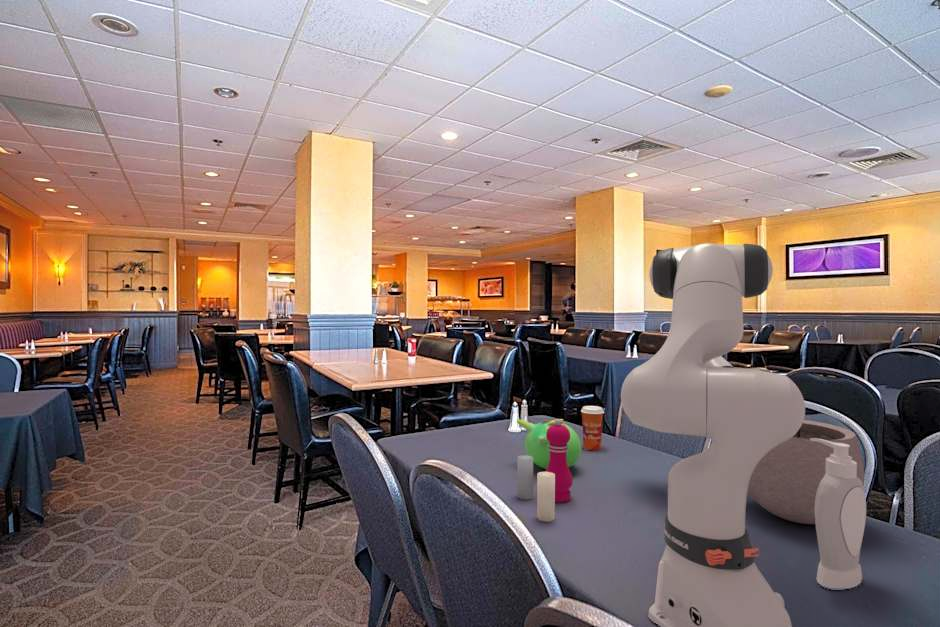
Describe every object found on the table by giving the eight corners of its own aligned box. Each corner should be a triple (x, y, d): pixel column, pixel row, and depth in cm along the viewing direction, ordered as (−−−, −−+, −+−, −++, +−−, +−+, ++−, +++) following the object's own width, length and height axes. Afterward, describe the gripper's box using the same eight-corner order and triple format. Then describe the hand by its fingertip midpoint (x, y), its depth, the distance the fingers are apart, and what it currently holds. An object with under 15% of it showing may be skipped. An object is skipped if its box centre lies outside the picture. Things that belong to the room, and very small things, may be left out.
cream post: (557, 521, 111) (557, 476, 111) (540, 522, 111) (540, 478, 111) (551, 513, 115) (551, 471, 115) (534, 515, 115) (534, 472, 114)
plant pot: (783, 492, 129) (785, 377, 129) (889, 531, 107) (891, 392, 106) (714, 505, 120) (716, 382, 120) (814, 550, 98) (816, 400, 98)
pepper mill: (554, 505, 120) (555, 423, 120) (537, 495, 127) (538, 417, 126) (578, 500, 124) (578, 420, 123) (560, 490, 130) (561, 414, 130)
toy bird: (592, 474, 143) (592, 423, 142) (541, 481, 136) (541, 428, 136) (558, 456, 159) (559, 411, 159) (512, 462, 153) (512, 415, 153)
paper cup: (579, 450, 166) (579, 409, 166) (581, 444, 173) (581, 404, 173) (603, 452, 164) (604, 410, 163) (604, 446, 171) (604, 406, 171)
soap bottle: (829, 560, 94) (831, 433, 94) (877, 580, 87) (879, 443, 87) (787, 575, 89) (788, 441, 89) (834, 598, 82) (835, 452, 82)
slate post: (535, 499, 124) (535, 459, 124) (519, 500, 123) (519, 460, 123) (530, 493, 128) (530, 454, 128) (515, 494, 127) (515, 455, 127)
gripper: (652, 384, 140) (607, 391, 137) (701, 400, 120) (651, 409, 117) (653, 406, 140) (609, 414, 137) (703, 426, 120) (653, 435, 117)
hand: (629, 412), depth 127 cm, fingers closed
